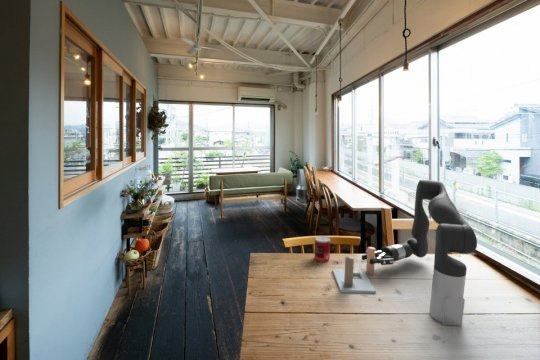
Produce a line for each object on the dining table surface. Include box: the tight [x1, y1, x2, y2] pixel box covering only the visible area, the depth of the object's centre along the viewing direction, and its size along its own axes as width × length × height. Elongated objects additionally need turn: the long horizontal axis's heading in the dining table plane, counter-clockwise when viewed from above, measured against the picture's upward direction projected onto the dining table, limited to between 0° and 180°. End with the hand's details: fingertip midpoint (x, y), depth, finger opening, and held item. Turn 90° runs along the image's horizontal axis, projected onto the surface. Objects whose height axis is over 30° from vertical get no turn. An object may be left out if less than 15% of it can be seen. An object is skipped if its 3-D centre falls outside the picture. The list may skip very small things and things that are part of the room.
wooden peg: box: [365, 246, 376, 276], centre depth 127 cm, size 3×3×12 cm
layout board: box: [332, 255, 377, 294], centre depth 119 cm, size 18×14×13 cm
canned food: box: [314, 235, 331, 263], centre depth 141 cm, size 8×8×11 cm
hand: (366, 259), depth 125 cm, fingers open, 4 cm apart
